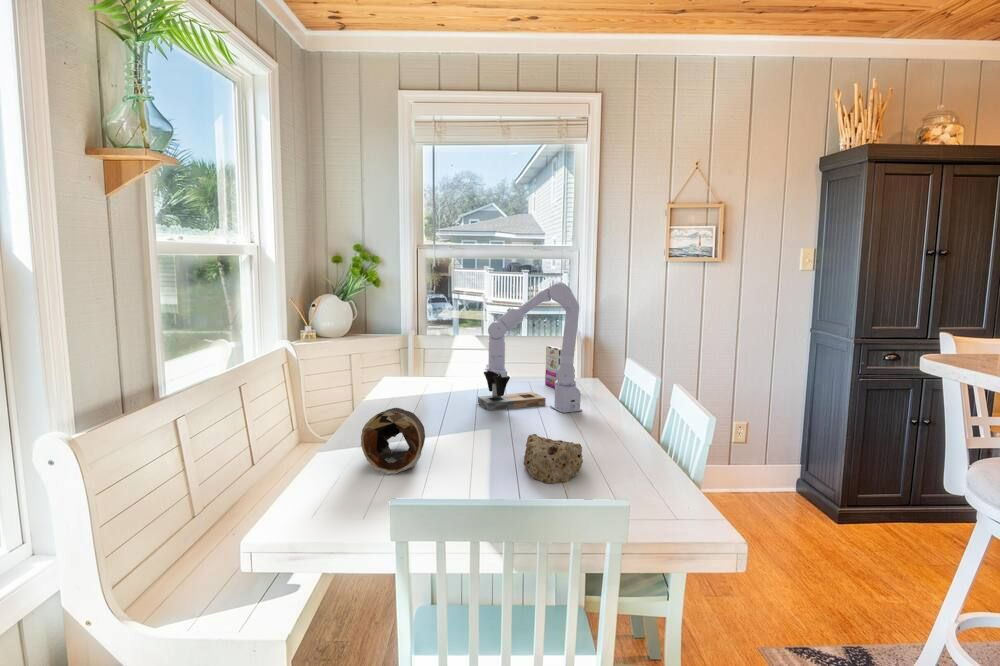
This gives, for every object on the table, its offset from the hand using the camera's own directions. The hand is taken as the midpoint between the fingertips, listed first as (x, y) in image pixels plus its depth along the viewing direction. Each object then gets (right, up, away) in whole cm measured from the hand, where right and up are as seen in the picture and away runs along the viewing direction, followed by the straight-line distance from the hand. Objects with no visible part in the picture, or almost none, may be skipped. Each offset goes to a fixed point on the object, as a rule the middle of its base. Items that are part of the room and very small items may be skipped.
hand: (496, 393), depth 210 cm
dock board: (+6, -4, +3) cm, 7 cm away
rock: (+15, -13, -62) cm, 65 cm away
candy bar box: (+24, -1, +32) cm, 41 cm away
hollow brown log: (-25, -12, -55) cm, 62 cm away
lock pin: (0, -4, +1) cm, 4 cm away
